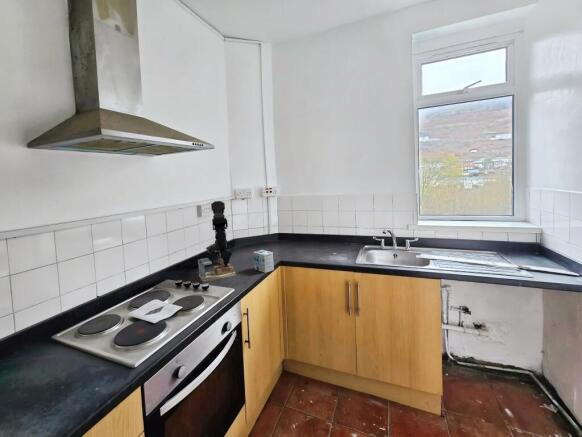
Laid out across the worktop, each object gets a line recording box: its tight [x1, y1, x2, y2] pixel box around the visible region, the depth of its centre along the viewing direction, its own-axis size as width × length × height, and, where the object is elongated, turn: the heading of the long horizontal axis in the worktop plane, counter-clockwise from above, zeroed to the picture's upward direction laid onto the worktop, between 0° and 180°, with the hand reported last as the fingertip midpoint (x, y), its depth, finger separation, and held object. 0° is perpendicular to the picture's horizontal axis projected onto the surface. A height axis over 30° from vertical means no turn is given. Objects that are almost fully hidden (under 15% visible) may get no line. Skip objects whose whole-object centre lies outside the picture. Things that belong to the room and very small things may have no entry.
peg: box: [219, 258, 227, 269], centre depth 160 cm, size 4×4×8 cm
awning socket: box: [197, 257, 237, 283], centre depth 158 cm, size 12×18×10 cm, turn 119°
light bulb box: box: [253, 249, 275, 274], centre depth 164 cm, size 11×7×11 cm, turn 45°
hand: (223, 265), depth 160 cm, fingers open, 9 cm apart
